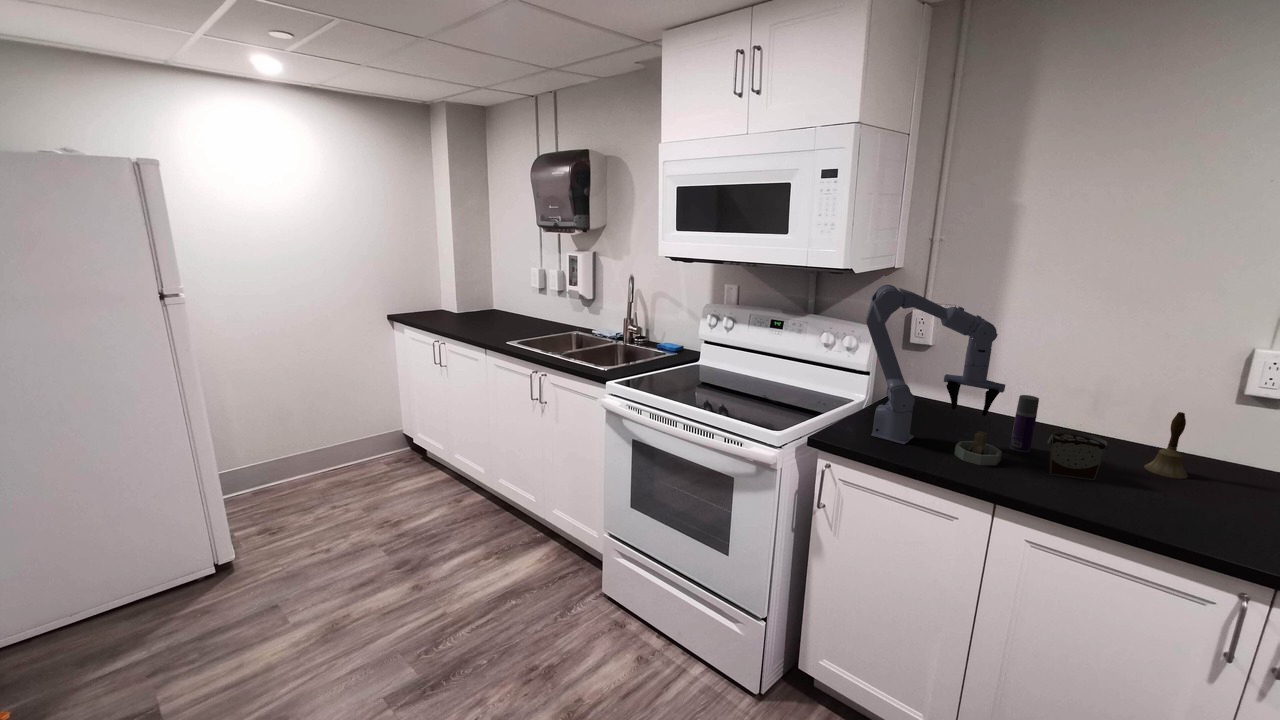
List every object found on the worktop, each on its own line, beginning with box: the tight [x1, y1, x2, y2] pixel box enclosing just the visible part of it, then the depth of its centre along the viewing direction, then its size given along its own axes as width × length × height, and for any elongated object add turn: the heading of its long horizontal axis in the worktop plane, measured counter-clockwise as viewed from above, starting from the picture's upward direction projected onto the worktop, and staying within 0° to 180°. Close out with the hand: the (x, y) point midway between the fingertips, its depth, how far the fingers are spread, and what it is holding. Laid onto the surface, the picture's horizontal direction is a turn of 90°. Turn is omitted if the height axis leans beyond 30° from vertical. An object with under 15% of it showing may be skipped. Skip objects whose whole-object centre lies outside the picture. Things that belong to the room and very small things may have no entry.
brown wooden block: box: [972, 430, 988, 455], centre depth 152 cm, size 2×4×6 cm, turn 137°
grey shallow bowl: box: [954, 440, 1003, 466], centre depth 153 cm, size 10×10×3 cm
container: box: [1009, 394, 1040, 453], centre depth 157 cm, size 5×5×15 cm
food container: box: [1047, 430, 1110, 481], centre depth 144 cm, size 12×6×10 cm, turn 71°
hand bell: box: [1144, 411, 1189, 480], centre depth 144 cm, size 8×8×16 cm
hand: (969, 411), depth 159 cm, fingers open, 7 cm apart
